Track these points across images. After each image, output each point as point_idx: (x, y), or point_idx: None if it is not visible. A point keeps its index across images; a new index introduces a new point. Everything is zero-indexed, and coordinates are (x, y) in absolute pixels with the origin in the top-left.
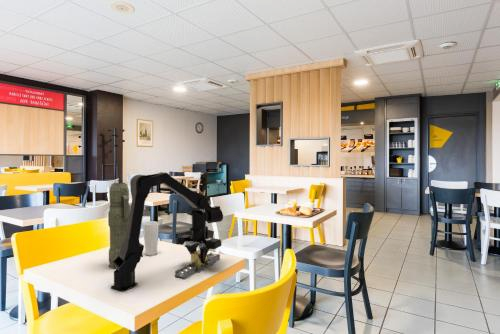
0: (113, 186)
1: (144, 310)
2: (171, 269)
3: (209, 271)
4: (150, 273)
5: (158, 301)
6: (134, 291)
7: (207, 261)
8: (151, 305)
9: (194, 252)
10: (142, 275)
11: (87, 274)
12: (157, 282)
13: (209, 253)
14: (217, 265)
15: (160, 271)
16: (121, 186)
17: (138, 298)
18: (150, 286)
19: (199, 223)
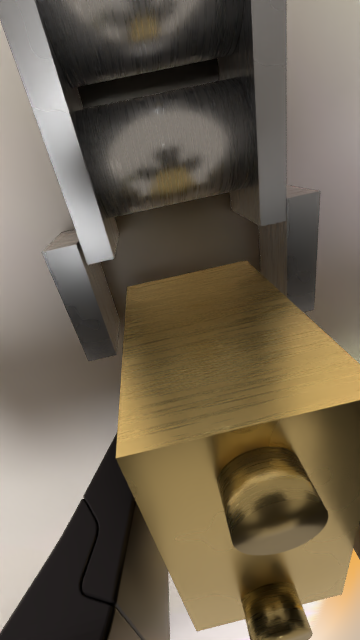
0: None
1: (311, 625)
2: (34, 496)
3: (352, 345)
4: (7, 579)
5: (311, 603)
6: (170, 630)
7: (198, 197)
8: (309, 615)
9: (209, 597)
10: (8, 602)
11: None
12: (168, 581)
13: None
14: (356, 148)
15: (16, 544)
16: None
17: (233, 627)
18: (181, 600)
19: None
